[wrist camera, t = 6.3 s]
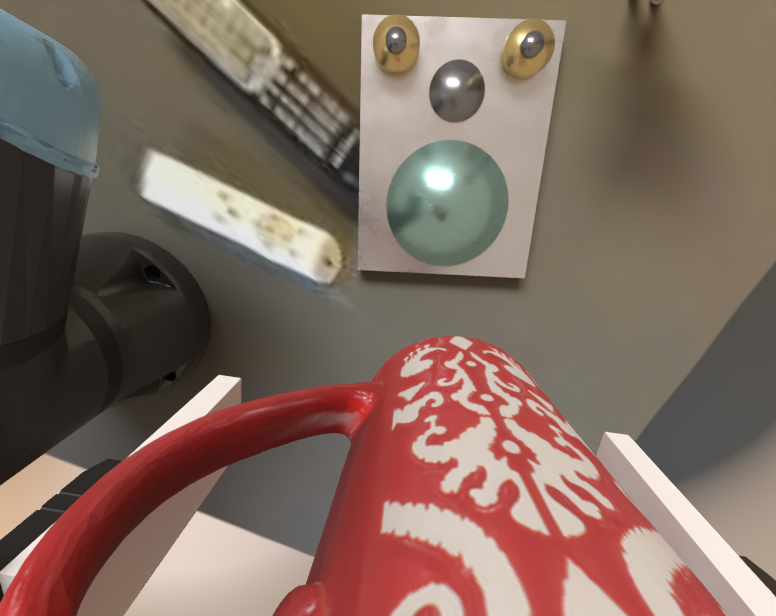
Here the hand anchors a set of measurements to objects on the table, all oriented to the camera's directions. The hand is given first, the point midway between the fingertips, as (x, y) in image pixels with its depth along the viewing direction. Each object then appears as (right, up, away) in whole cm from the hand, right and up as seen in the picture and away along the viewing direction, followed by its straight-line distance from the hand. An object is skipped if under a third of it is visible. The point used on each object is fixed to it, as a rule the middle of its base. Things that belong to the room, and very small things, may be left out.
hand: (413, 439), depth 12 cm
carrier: (+4, +16, +17) cm, 23 cm away
